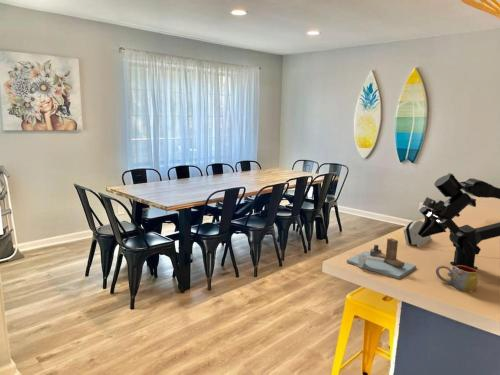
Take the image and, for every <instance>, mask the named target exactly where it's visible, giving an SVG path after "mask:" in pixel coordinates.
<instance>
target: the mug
mask: <svg viewBox="0 0 500 375" xmlns="http://www.w3.org/2000/svg"><path fill="white" fill-rule="evenodd" d="M440 269H446V270H447V271H448V272H449V273H448V274H447V276H448V277H450V278H449V279H447V278H446V277H443V276H442V275H441V274H440ZM478 272H479V270H478V269H473V268H470V267H467V266H463V265H457V266H454V265H452V269H451V268H450V267H449V266H447V265H440V266H438V267H437V268H436V270H435V274H436V276H437V277H438V279H439V280H441V281H442V282H444V283H446V284H449V285H451V286H452V287H454V288H455V289H457V290H460V291H462V292H468V293H473V292H474V290H476V289H477V287H478V274H479V273H478Z"/></svg>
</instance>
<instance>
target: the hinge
mask: <svg viewBox="0 0 500 375" xmlns="http://www.w3.org/2000/svg"><path fill="white" fill-rule="evenodd" d="M423 223H424V221H422V220H415V221H414V220H413V221H409V222H408V223H407V224H405V226H404V228H403V234H404V239H405V245H406V246H410V245H413V246H414V245H416V247H417V248H418V249H419V248H420V247H422V246H423V245H425V244H426V243H428V242H429V241H431V240H432V237H431V236H432V235H430V236H427V237H421V236H420V235H418V232H419V231H420V229H421V227H422V225H423Z"/></svg>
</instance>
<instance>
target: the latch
mask: <svg viewBox="0 0 500 375" xmlns="http://www.w3.org/2000/svg"><path fill="white" fill-rule="evenodd" d="M398 243H399V242H398V240H397V239H394V238H387V240H386V248H385V249H386V250H385V251H386V252H385V253H383V252H382V250H381V249H379V244H373V248H370V251H369V252H370V255H371V256H373V257H379V258H385V260H384V261H386V262H388V263H390V264H392V265H394V266H397V267H404V262H405V261H402V260H400V259H397V253H398Z"/></svg>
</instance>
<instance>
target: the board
mask: <svg viewBox="0 0 500 375" xmlns="http://www.w3.org/2000/svg"><path fill="white" fill-rule="evenodd" d="M360 254H364V255H366V256H371V255H370V251H367V250H365V251H363V252H361V253H358V254H356V255H354V256H352V257H350V258H348V259H346V263H347V264H350V265H354V266H356V267H358V257H359V255H360ZM372 257H373V256H372ZM403 262H404V267H397V266H394V265H392V264H390V263H388V262H386V261H384V262H378V261H372V260H366V264H365V265H364V268H363V269H365V268H366V270H369V271H372V272H376V273H378V274H381V275H384V276H388V277H390V278H393V279H397V280H400V279H401V278H403V277H404V276H406V275H407V274H409V273H411V272H412V271H414V270H415V269H416V268H417V265H416V264H412V263H409V262H406V261H403Z"/></svg>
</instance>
